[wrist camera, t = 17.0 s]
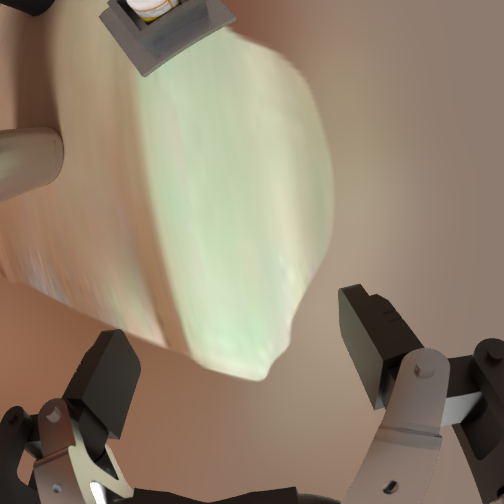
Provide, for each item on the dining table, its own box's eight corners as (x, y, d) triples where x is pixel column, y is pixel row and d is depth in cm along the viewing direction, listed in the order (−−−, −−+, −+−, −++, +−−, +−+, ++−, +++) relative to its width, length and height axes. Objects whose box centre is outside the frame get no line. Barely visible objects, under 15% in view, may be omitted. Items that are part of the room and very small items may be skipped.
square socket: (145, 77, 29) (129, 68, 23) (101, 19, 24) (84, 6, 19) (236, 20, 26) (235, 2, 21) (183, -34, 21) (176, -54, 16)
